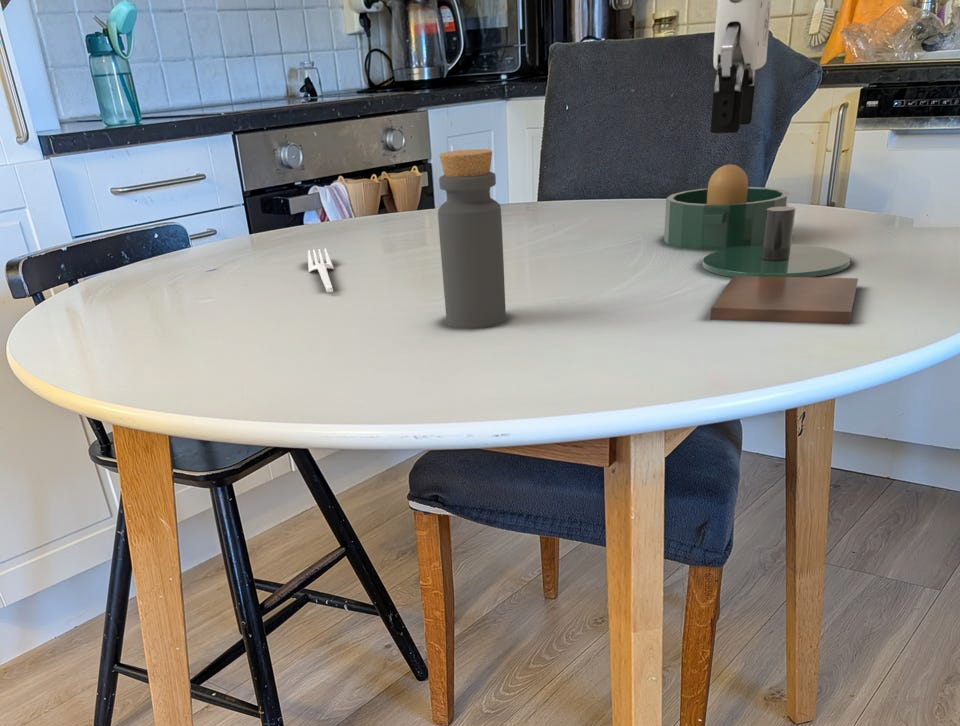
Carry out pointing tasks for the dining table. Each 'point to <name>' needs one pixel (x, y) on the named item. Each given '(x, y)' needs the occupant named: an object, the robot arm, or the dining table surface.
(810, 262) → the lid
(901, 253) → the dining table surface
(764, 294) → the board
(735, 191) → the tan domed cylinder
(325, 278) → the fork
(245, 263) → the dining table surface
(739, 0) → the robot arm
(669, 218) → the pot
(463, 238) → the bottle
